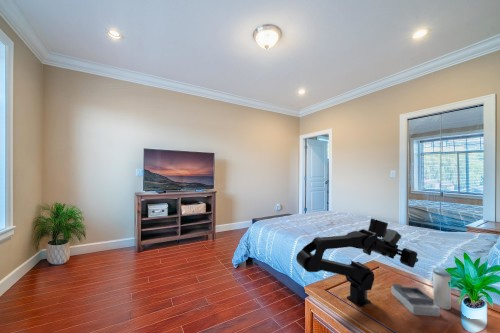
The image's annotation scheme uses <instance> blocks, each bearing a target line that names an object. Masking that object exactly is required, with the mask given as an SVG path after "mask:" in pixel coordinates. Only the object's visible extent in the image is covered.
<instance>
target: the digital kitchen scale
mask: <svg viewBox="0 0 500 333" xmlns="http://www.w3.org/2000/svg"><path fill="white" fill-rule="evenodd" d="M390 289H391V294H392V295H393V296H394V297H395V298H396V299H397V300H398V301H399V302H400V303H401V304H402V305H403V306H404V307H405V308H406V309H407V310H409V312H410V313H411V314H412V315H415V316H429V317H430V316H431V317H441V316H440V315H441V308H439V307H438V306H437V305H435V304H434V298H431V297H430V296H429V295H428V294H426V293H425V292H424V291H422V290H421V289H420V288H419V287H414V286H403V285H402V284H398V283H393V285H391V288H390Z"/></svg>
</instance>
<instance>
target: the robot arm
mask: <svg viewBox="0 0 500 333" xmlns="http://www.w3.org/2000/svg"><path fill="white" fill-rule="evenodd" d="M388 226H389V223H388V222H386V221H382V220H378V219H375V218H371V219H370V221H369V226H368V229H365V228H362V229H359V230H354V231H351V232H348V233H346V234H344V235H335V236H323V237H322V236H321V237H320V236H315V237H314V238H313V239H312V241H311V242H309V243H307V244H306V245H304V246H303V248H302V249H301V250H300V251H298V252H297V254H296V257H295V259H296V262H297V263H298V265H299V266H301V268H303V270H305V271H306V272H308V273H318V272H320V271H322V272H327V273H331V274H337V275H341V276H345V279H346V281H347V282H349V283H350V284H349V295H347V296H346V299H347V300H349V301H350V302H353V303H354V304H355V305H357V306H359V307H364V306H365V305H368V304H371V300H370V299H368V291H371V290H372V288H373V286H374V282H375V274H374V271H373V270H371V268H370V267H368V266H366V265H365V264H363V263H362V262H359V261H353V260H350V263H349V264H347V263H344V262H343V263H342V262H339V261H335V260H330V259H326V258H324V254H325V252H326V250H331V249H332V250H334V249H343V248H354V249H358V250H362V253H364V254H366V255H368V256H371V255H372V252H373V253H377V254H379V255H381V256H383V257H388V258H390V259H392V260H394V258H395V257H396V255H398V256H400V257H399V263H400V264H403V265H404V266H407V267H409V268H412V269H413V268H414V267H415V265H416V263H418V262H419V258H418V252H417V251H415V250H413V249H409V248H406V247H404V248H403V249H399V248H398V247H399V245H398V242H399V241H400V239H402V235H401V234H400V233H399V232H398V231H397V230H394V229H391V228H388ZM313 252H314V253H313Z"/></svg>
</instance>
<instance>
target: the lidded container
mask: <svg viewBox="0 0 500 333" xmlns="http://www.w3.org/2000/svg"><path fill="white" fill-rule="evenodd" d="M446 270H447V269H443V268H439V267H433V268H432V275H433V276H432V277H433V282H432V284H433V286H432V288H433V289H432V290H433V294H432V295H433V303H434V304H435V305H437V306H438V307H439V308H440V309H442V310H451V309H452V308H451V306H452V303H451V302H452V301H451V296H452V295H451V290H452V289H451V286H450V287H449V285H448V282H450V283H451V276H450V274H449V273H448V272H447V271H448V270H447V271H446Z"/></svg>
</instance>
